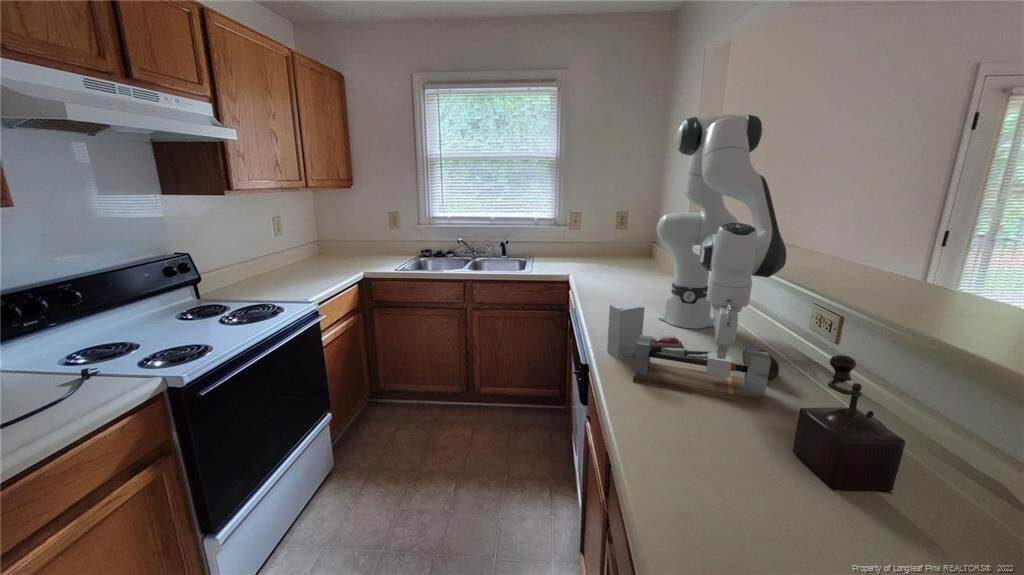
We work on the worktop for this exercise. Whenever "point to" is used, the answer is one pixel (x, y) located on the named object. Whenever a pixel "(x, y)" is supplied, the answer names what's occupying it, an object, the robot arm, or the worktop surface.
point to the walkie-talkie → (671, 346)
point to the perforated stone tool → (773, 365)
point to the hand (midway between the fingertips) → (720, 349)
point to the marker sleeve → (718, 365)
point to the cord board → (703, 374)
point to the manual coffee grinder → (847, 441)
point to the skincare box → (624, 328)
